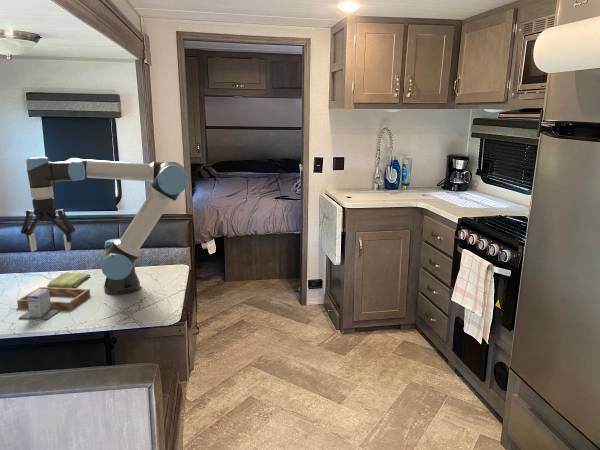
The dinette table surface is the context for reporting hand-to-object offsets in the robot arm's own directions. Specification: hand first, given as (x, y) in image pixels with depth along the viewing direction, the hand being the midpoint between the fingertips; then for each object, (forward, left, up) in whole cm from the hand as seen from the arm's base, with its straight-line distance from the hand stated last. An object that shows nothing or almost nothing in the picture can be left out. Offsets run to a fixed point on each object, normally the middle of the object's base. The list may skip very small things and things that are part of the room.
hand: (51, 250), depth 177 cm
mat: (+1, +9, -24) cm, 25 cm away
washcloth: (+10, -26, -24) cm, 37 cm away
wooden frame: (+3, -4, -24) cm, 24 cm away
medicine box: (+1, +9, -23) cm, 25 cm away
